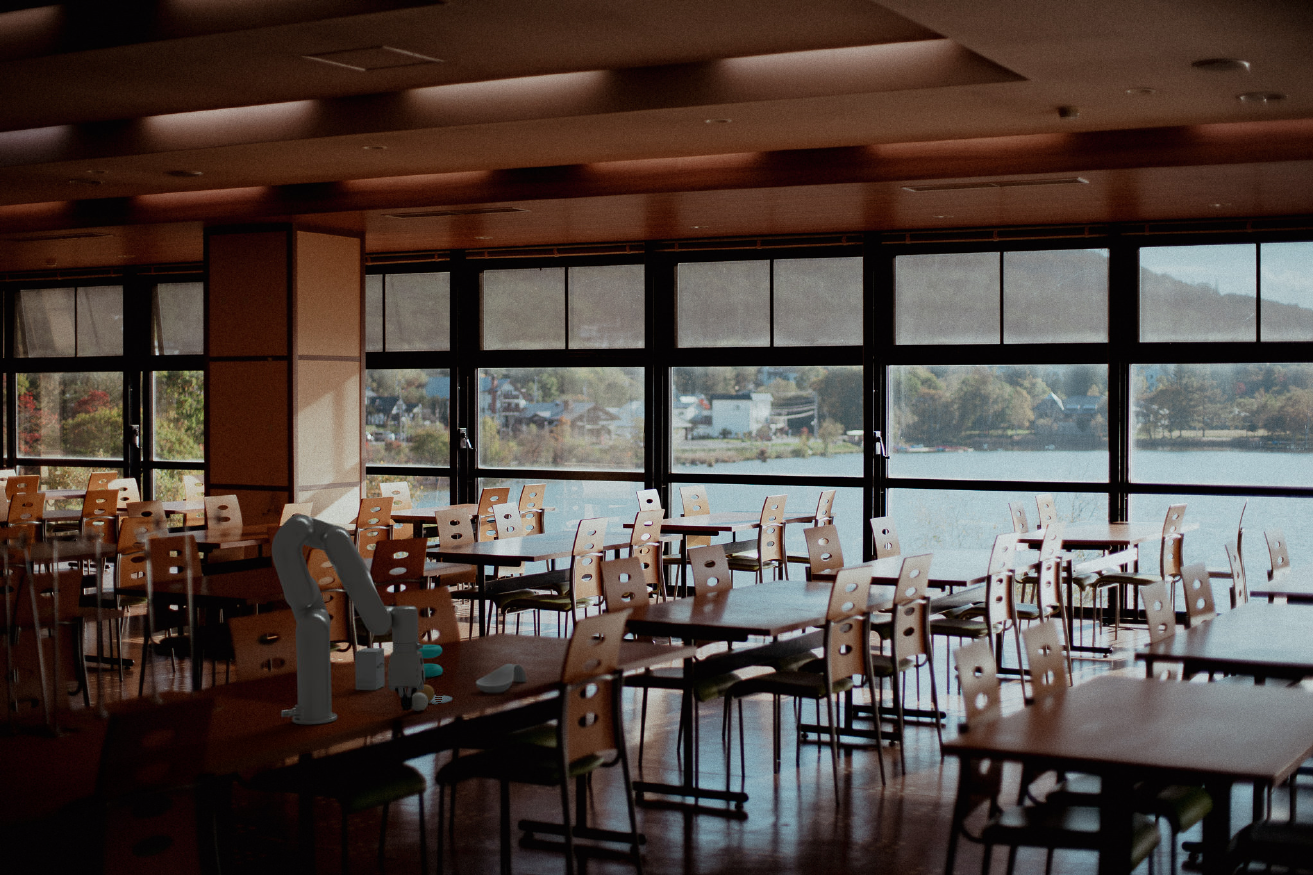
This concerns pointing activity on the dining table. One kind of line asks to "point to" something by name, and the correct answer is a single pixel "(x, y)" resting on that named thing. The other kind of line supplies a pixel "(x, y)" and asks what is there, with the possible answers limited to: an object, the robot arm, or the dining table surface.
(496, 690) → the spoon rest
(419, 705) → the cue ball
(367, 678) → the supplement box
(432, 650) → the donuts
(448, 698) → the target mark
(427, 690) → the orange ball
